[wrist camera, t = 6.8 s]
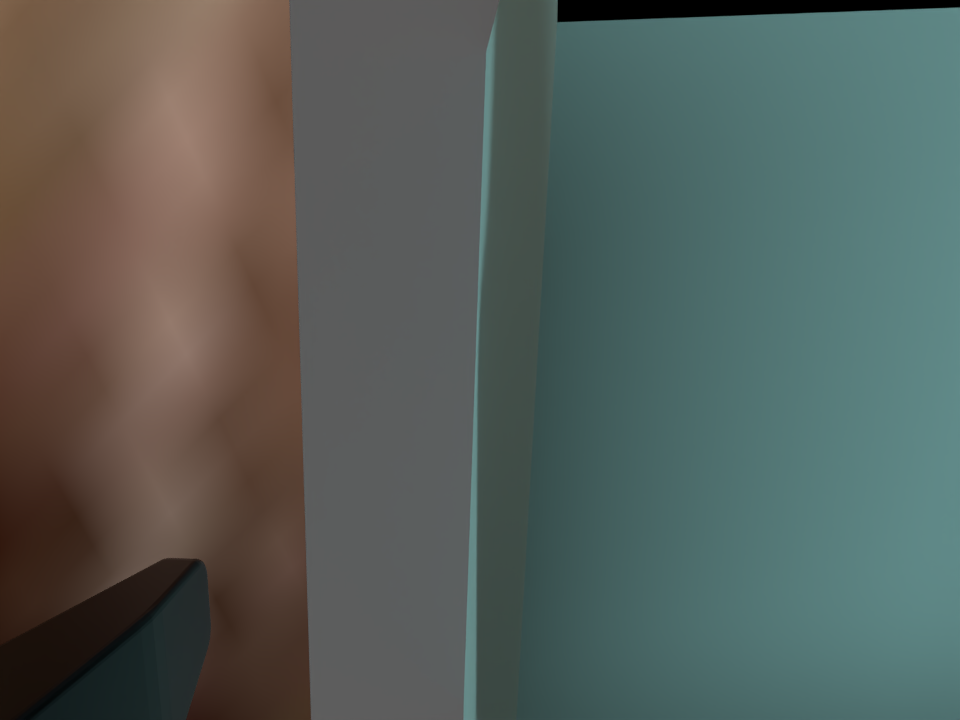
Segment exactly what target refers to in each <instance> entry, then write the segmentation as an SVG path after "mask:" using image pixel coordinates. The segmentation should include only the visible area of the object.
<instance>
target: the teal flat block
mask: <svg viewBox="0 0 960 720" xmlns="http://www.w3.org/2000/svg"><path fill="white" fill-rule="evenodd" d="M463 720H960V0H500V1H499V4H498V8H497V12H496V16H495V20H494V24H493V27H492V31H491V35H490V39H489V43H488V47H487V50H486V71H485V100H484V129H483V158H482V187H481V216H480V245H479V274H478V303H477V332H476V361H475V389H474V418H473V447H472V476H471V505H470V534H469V563H468V592H467V621H466V650H465V679H464V718H463Z"/></svg>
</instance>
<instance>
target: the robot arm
mask: <svg viewBox="0 0 960 720" xmlns="http://www.w3.org/2000/svg"><path fill="white" fill-rule="evenodd" d="M210 630H211V622H210V608H209V593H208V579H207V570H206V567H205V564H204V563H203V562H202V561H201V560H199V559H184V558H167V559H163V560H161V561H159V562H157V563H155V564H153V565H151V566H150V567H148V568H146V569H144V570H142V571H140V572H138V573H136V574H134V575H133V576H131V577H129V578H127V579H125V580H123V581H121V582H119V583H117V584H116V585H114V586H112V587H110V588H108V589H106V590H104V591H102V592H100V593H99V594H97V595H95V596H93V597H91V598H89V599H87V600H85V601H83V602H82V603H80V604H78V605H76V606H74V607H72V608H70V609H68V610H66V611H65V612H63V613H61V614H59V615H57V616H55V617H53V618H51V619H49V620H48V621H46V622H44V623H42V624H40V625H38V626H36V627H34V628H32V629H30V630H29V631H27V632H25V633H23V634H21V635H19V636H17V637H15V638H13V639H12V640H10V641H8V642H6V643H4V644H2V645H0V720H186V717H187V714H188V711H189V708H190V704H191V701H192V698H193V695H194V691H195V688H196V685H197V682H198V678H199V675H200V672H201V669H202V665H203V662H204V659H205V656H206V652H207V649H208V645H209V640H210Z"/></svg>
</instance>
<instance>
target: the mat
mask: <svg viewBox="0 0 960 720" xmlns="http://www.w3.org/2000/svg"><path fill="white" fill-rule="evenodd" d="M289 1H290V34H291V68H292V101H293V134H294V167H295V200H296V233H297V266H298V299H299V332H300V365H301V398H302V431H303V464H304V497H305V531H306V564H307V597H308V630H309V663H310V696H311V720H463V718H464V679H465V650H466V621H467V592H468V563H469V534H470V505H471V476H472V447H473V418H474V389H475V361H476V332H477V303H478V274H479V245H480V216H481V187H482V158H483V129H484V100H485V71H486V50H487V47H488V43H489V39H490V35H491V31H492V27H493V24H494V20H495V16H496V12H497V8H498V4H499V1H500V0H289Z"/></svg>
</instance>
